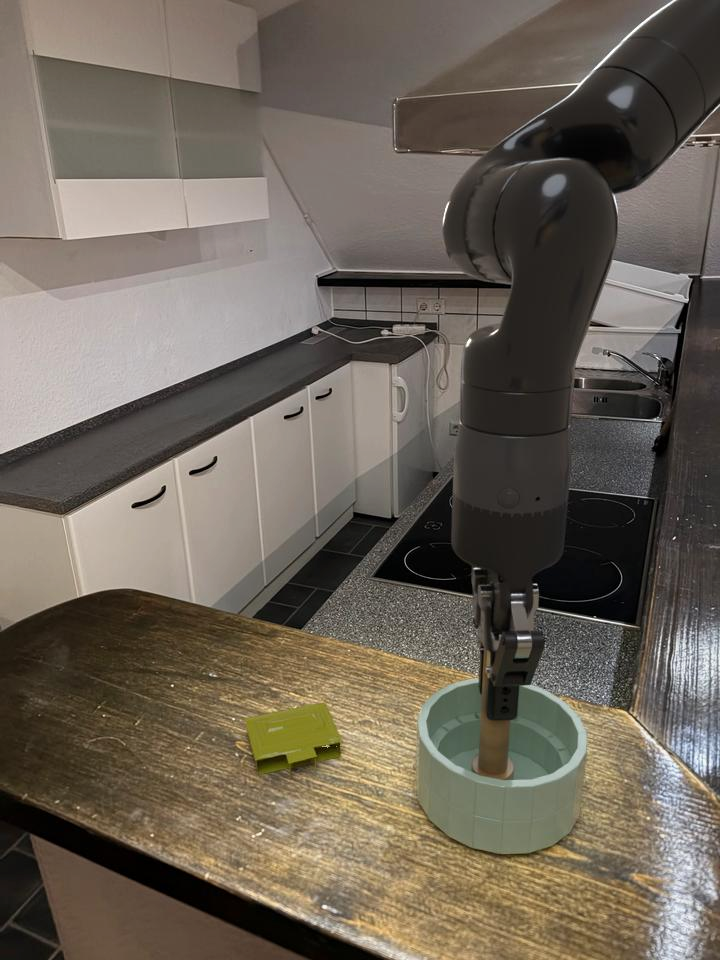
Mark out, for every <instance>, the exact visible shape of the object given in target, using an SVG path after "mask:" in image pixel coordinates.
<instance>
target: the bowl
mask: <svg viewBox="0 0 720 960" xmlns="http://www.w3.org/2000/svg"><path fill="white" fill-rule="evenodd" d="M478 683H479V677H473V678H469V679H464V680H460V681H455V682H452V683H450V684H448V685H446V686H444V687H442V688H440V689H438V690H436V691H434V692H433V693H432V694H431V695H430V696H429V697H428V699H427V700H426V701H425V702H424V703H423V704H422V705H421V708H420V711H419V714H418V717H417V719H416V747H415V749H416V751H415V752H416V753H415V754H416V755H415V787H416V794H417V800H418V803H419V805H420V806H421V808H422V809H423V811H424V813H425V815H426V816H427V818H428V820H429V821H430V822H432V824H434V825H435V826H436V827H437V828H438V829H439V830H441V832H443V833H444V834H445V835H446V836H447V837H449V838H451V839H453V840H455V841H457V842H459V843H461V844H463V845H465V846H467V847H469V848H471V849H474V850H475V849H476V850H480V851H485V852H490V853H494V854H498V855H499V854H500V855H518V854H519V855H521V854H531V853H535V852H538V851H540V850H543V849H547V848H550V847H552V846H554V845H555V844H557V843H558V842H560V841H561V840H562V839H563V838H565V837H566V836H567V835H569V834H570V833H571V831H572V830H573V828H574V826H575V824H576V823H577V821H578V818H579V816H580V814H581V806H582V798H583V789H584V781H585V773H586V764H587V754H588V732H587V730H586V728H585V725H584V723H583V722H582V719H581V717H580V715H579V714H578V713H577V712H576V711H575V710H574V709H573V708H572V707H571V706H570V705H569V704H568V703H567V702H566V701H565V700H563V699H561V698H560V697H558V696H556V695H555V694H553V693H552V692H550V691H548V690H547V689H545V688H542V687H539V686H537V685H533V684H531V685H523V686H519V698H518V712H517V717H516V718H515V719H513V720H511V722H510V736H509V750H508V758H509V759H510V760H511V761H512V763H513V765H514V775H513V780H501V779H496V778H490V777H485V776H480V775H478V774H475V773H473V772H471V766H472V760H473V758H474V757H475V756H476V755H477V754H479V739H480V720H481V701H482V695H481V694H480V691H479V687H478Z"/></svg>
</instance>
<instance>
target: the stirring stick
mask: <svg viewBox="0 0 720 960" xmlns="http://www.w3.org/2000/svg"><path fill="white" fill-rule="evenodd" d="M483 650H484V663H483V682H482V701H481V720H480V739H479V754H477V755H476V756H475V757H474V758H473V760H472V766H471V772H473V773H475V774H478V775H480V776H485V777H490V778H496V779H501V780H513V775H514V765H513V763H512V761H511V760H510V759H509V758H508V750H509V736H510V722H511V720H501V721H491V720H489V719H488V718H487V715H486V712H485V700H486V682H487V673H486V671H485V667H486V666H487V650H486V649H485V648H484V649H483Z"/></svg>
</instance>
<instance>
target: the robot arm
mask: <svg viewBox="0 0 720 960" xmlns="http://www.w3.org/2000/svg"><path fill="white" fill-rule="evenodd" d="M719 107H720V0H671V1H670V2H669V3H667V4H665V5H664V6H662V7H661V8H659V10H657V11H655V12H654V13H653V14H651V15H650V16H649V17H647V18H646V19H645V20H643V22H641V23H640V24H639V25H637V27H635V28H634V29H633V30H632V31H631V32H630V33H628V34H627V36H625V37H624V38H623V40H621V41H620V42H619V43H618V44H617V45H616V46H615V47H614V48H613V49H612V50H611V51H610V52H609V54H607V56H605V57H604V58H603V59H602V61H600V62H599V63H598V64H597V65H596V66H595V67H594V69H592V71H590V72H589V74H587V76H586V77H585V78H584V79H583V80H581V82H580V83H579V84H578V85H577V86H576V88H575V89H574V90H573V91H572V92H571V93H569V95H568V96H566V97H565V98H564V99H562V100H560V101H559V102H558V103H556V104H554V105H553V106H552V107H549V108H548V109H547V110H545V111H544V112H542V113H540V114H539V115H537V116H535V117H534V118H533V119H531V120H529V122H527V123H526V124H524V125H522V126H521V127H520V128H518V129H517V130H515V131H514V132H513V133H511V134H510V135H508V136H507V137H505V138H504V139H502V140H501V141H500V142H499V143H497V144H496V145H495V146H493V147H491V149H489V150H487V152H485V153H484V154H483V155H481V156H480V157H479V158H478V159H477V160H476V161H475V162H474V163H473V164H472V165H471V166H470V167H469V168H468V169H467V170H466V171H465V172H464V173H463V175H462V176H461V177H460V179H459V180H458V182H457V183H456V184H455V186H454V188H453V190H452V191H451V193H450V195H449V198H448V199H447V202H446V205H445V208H444V211H443V214H442V221H441V237H442V244H443V247H444V251H445V253H446V255H447V257H448V258H449V260H450V261H451V263H452V264H453V265H454V266H455V268H457V269H458V270H459V271H460V272H461V273H463V274H465V275H467V276H468V277H471V278H473V279H476V280H478V281H482V282H488V283H495V284H503V285H504V284H505V285H511V286H510V292H509V295H508V300H507V303H506V306H505V308H504V311H503V312H504V313H503V315H502V318H501V320H500V323H494V324H489V325H485V326H482V327H478V328H477V329H476V330H474V331H472V332H471V333H470V334H469V335H468V336H467V338H466V339H465V342H464V345H463V348H462V355H461V363H460V381H459V406H458V407H459V408H458V409H459V410H458V418H459V419H458V427H457V432H456V439H455V444H454V450H453V451H454V452H453V473H452V474H453V475H452V502H451V503H452V504H451V533H450V534H451V535H450V543H451V547H452V550H453V552H454V553H455V555H456V556H457V557H458V558H459V559H461V560H462V561H463V562H465V563H466V564H468V565H470V566H471V577H470V580H471V585H472V615H473V617H472V624H473V625H474V629H475V630H476V629H477V636H476V637H475V638H476V639H475V641H476V645H477V646H478V649H479V662H478V665H479V666H478V678H479V683H478V687H479V691H480V694H481V695H482V682H483V663H484V648H485V649H486V650H487V666H486V667H485V671H486V673H487V682H486V700H485V712H486V715H487V718H488V719H489V720H491V721H501V720H513V719H515V718H516V717H517V712H518V698H519V686H523V685H532V682H533V679H534V677H535V674H536V671H537V668H538V665H539V663H540V661H541V657H542V654H543V652H544V649H545V644H546V637H545V636H544V632H543V630H534V629H535V613H536V612H537V610H538V609H539V603H540V592H539V591H540V589H539V585H538V583H536V582H533V578H534V576H536V575H537V574H538V573H540V572H541V571H543V570H545V569H548V568H550V567H552V566H553V565H555V564H556V563H558V561H560V559H561V558H562V556H563V554H564V551H565V550H564V549H565V537H566V528H567V527H566V526H567V516H568V515H567V514H568V505H569V495H570V484H571V483H570V482H571V471H572V459H573V458H572V456H573V455H572V438H571V429H572V428H571V427H572V426H571V425H572V424H571V423H572V411H573V401H574V391H575V390H574V389H575V379H576V365H577V360H578V357H579V355H580V352H581V348H582V347H583V344H584V341H585V338H586V336H587V334H588V331H589V328H590V325H591V323H592V320H593V318H594V317H593V316H594V314H595V311H596V308H597V305H598V302H599V300H600V298H601V296H602V295H601V294H602V291H603V289H604V286H605V283H606V281H607V278H608V275H609V272H610V270H611V266H612V264H613V261H614V257H615V253H616V249H617V243H618V239H619V211H618V205H617V201H616V196H615V195H618V194H622V193H625V192H629V191H632V190H634V189H636V188H638V187H640V186H642V185H643V184H644V183H646V182H647V181H648V180H649V179H651V178H652V177H653V176H654V175H655V174H657V172H658V171H660V170H661V169H662V167H663V166H664V165H665V164H666V163H667V162H668V161H669V160H670V159H671V158H672V157H673V156H674V154H676V153H677V151H678V150H679V149H681V147H682V146H683V145H684V144H685V143H686V142H687V141H688V140H689V139H690V138H691V136H692V135H693V134H695V132H696V131H697V130H698V129H699V128H700V127H701V126H702V125H703V123H705V122H706V120H707V119H708V118H709V117H710V116H711V115H712V114H713V113H714V112H715V111H716V110H717V109H718V108H719Z"/></svg>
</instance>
